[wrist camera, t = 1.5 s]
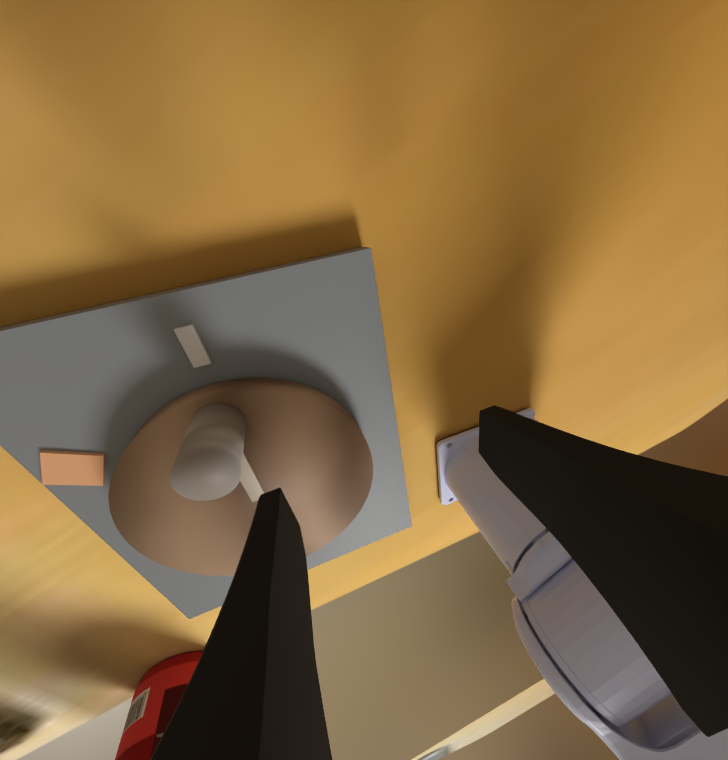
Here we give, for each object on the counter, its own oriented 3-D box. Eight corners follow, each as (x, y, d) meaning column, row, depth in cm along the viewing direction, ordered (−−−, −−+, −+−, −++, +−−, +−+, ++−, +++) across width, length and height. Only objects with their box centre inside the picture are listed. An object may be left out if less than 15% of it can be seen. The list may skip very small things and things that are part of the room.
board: (362, 246, 15) (372, 248, 14) (405, 512, 27) (412, 528, 25) (-61, 341, 12) (-106, 355, 11) (193, 598, 23) (188, 622, 22)
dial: (343, 346, 16) (372, 389, 11) (379, 507, 23) (407, 572, 18) (54, 428, 13) (-50, 523, 9) (195, 580, 20) (175, 675, 16)
